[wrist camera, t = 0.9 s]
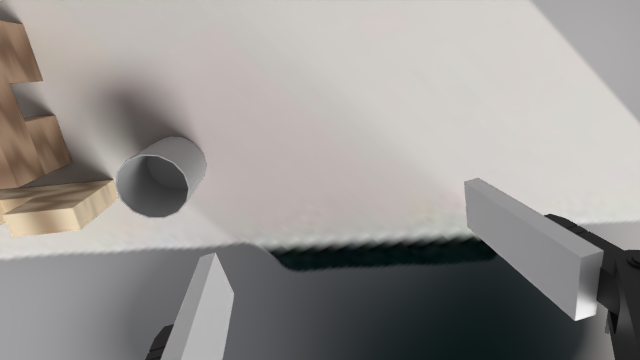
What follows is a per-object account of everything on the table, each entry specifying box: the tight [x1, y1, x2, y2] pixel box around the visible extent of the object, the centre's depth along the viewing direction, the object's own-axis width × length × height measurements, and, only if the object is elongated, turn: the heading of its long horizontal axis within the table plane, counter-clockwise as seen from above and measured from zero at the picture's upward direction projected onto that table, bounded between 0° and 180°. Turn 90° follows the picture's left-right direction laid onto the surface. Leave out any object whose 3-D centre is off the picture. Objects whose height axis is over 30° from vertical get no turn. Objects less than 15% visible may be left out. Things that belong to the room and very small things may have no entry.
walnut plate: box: [0, 21, 72, 189], centre depth 37 cm, size 18×3×10 cm, turn 3°
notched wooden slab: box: [0, 180, 119, 237], centre depth 42 cm, size 20×3×10 cm, turn 93°
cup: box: [115, 136, 207, 218], centre depth 42 cm, size 8×8×10 cm
